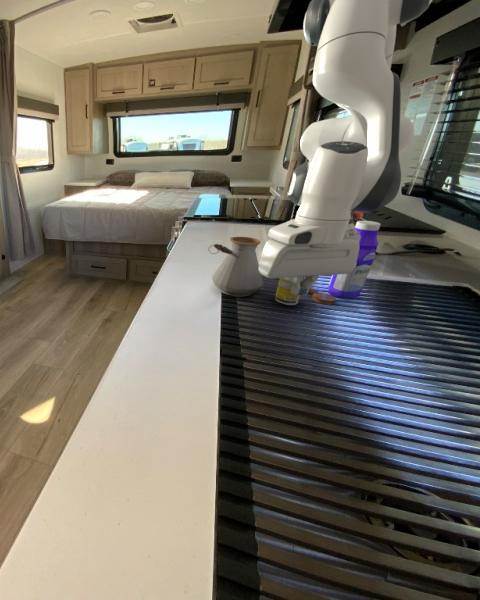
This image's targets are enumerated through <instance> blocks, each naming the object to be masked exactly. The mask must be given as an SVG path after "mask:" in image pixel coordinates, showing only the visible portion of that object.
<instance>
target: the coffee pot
mask: <svg viewBox="0 0 480 600" xmlns="http://www.w3.org/2000/svg"><path fill="white" fill-rule="evenodd" d="M229 241H230V242H231V248H228V247H226V246H224V245H222V244H218V243H214V244H211V245H210V246H209V247H208V252H209V253H210V254H212V255H216V254H219V252H221V253H224V254H226V255H225V256H224V258H223V259H222V260H221V262H220V264H219V265H218V266H217V268H216V269H215V271H214V272H213V273H212V276H211V280H212V283H213V284H214V286H215V287H216V288H217V290H218V291H219V292H221V293H222V294H225V295H228V296H231V297H237V298H238V297H241V298H242V297H243V298H245V297H248V296H251V295H252V294H254V293H256V292H257V291H259V290H261V288H262V287H263V286H264V282H263V277H262V274H261V273H260V272H259V270H258V267H259V260H258V256H257V252H256V249H257V247H258V246H259V245H260V244H261V240H259V239H257V238H255V237H250V236H232V237H230V238H229ZM211 247H213V248H215V249H216V250H217V252H215V253H214V252H211V251H210V248H211Z"/></svg>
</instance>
